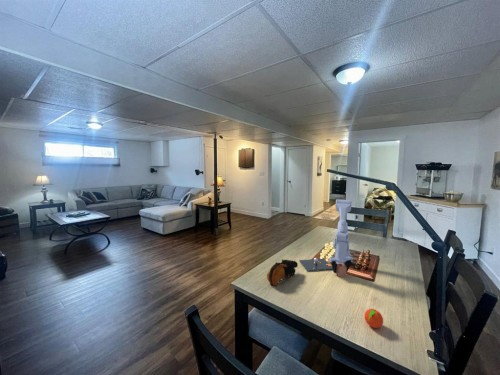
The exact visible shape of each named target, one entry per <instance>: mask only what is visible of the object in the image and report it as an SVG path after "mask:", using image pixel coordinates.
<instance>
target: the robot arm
mask: <svg viewBox="0 0 500 375" xmlns="http://www.w3.org/2000/svg"><path fill="white" fill-rule="evenodd" d="M352 205H353V201H352V200H351V199H350V200H349V199H338V198H336V200H335V211H336V212H338V214H339V221H338V222H337V231H336V236H335V237H334V238H333V249H335V252H334V254H335V255H334V257H333V256H332V257H329V259H328V261H329V264H330V265H331V266H332V268H333V270H332V272H333V273H334V274H335V273H336V268H337V265H338V264H337V263H343V264H344V265H345V266H346V267H347V271H346V274H347V273H348V272H349V268H350V267H351V266H352V265H353V260H354V258H353V257H352V255H351V251H350V239H349V231H348V225H349V224H348V222H347V214H348V213H350V212H351V211H352Z"/></svg>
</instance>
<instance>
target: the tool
mask: <svg viewBox="0 0 500 375" xmlns="http://www.w3.org/2000/svg"><path fill="white" fill-rule="evenodd" d="M298 264H299V263H298V262H297V261H296V260H289V259H282V260H281V262H275V263H274V264H273V265H272V266H271V267H270V269H269V271H268V272H267V274H266V278H267V281H268V282H269V284H270V285H272V286H275V287H277V285H278V282H281V280H283V279H284V278H290V276H293V275H295V274H296V268H298V266H299V265H298Z"/></svg>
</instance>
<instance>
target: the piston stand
mask: <svg viewBox="0 0 500 375" xmlns="http://www.w3.org/2000/svg"><path fill="white" fill-rule="evenodd" d="M313 260H314V261H313ZM318 261H319V262H321V263H318ZM298 262H299V263H300V264H301V266H302V267H303V268H304V270H305V271H306V272H318V271H333V268H332V265H331V266H328V265H326V264H330V262H329V263H328V261H327V260H326V259H325V258H318V257H314V259H313V258H312V259H299V260H298Z"/></svg>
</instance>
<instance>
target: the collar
mask: <svg viewBox="0 0 500 375" xmlns="http://www.w3.org/2000/svg"><path fill="white" fill-rule="evenodd" d="M337 264H338V265H337V268H336V273H334V275H336V276H337V277H338V278H340V277H347V273H346V271H347V267H346V266H345V265H344V264H343V263H337Z"/></svg>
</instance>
